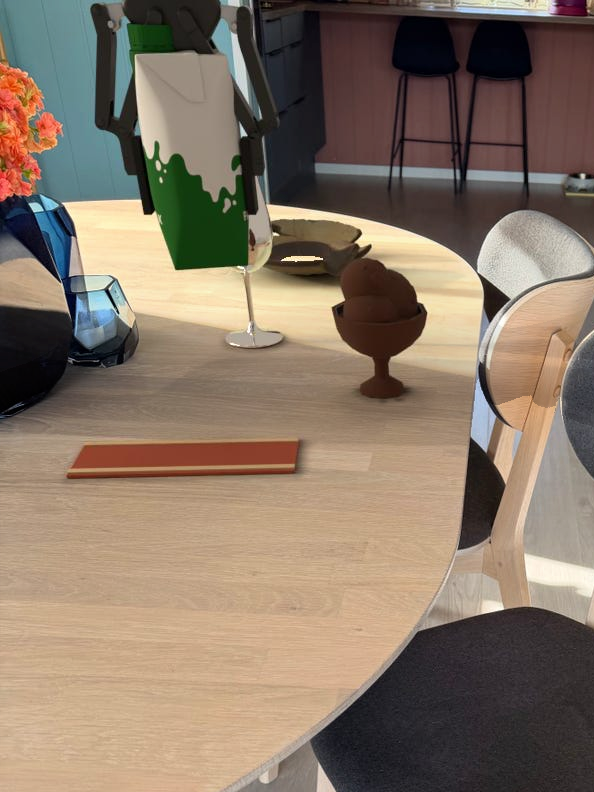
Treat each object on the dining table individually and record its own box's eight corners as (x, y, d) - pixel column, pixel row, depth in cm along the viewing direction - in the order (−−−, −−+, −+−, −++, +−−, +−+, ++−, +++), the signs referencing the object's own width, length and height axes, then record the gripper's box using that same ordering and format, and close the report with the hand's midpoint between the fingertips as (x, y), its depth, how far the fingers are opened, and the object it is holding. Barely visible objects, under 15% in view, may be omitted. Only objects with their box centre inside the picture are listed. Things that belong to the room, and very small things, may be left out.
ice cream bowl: (381, 415, 105) (375, 277, 96) (318, 388, 111) (306, 257, 102) (446, 390, 111) (446, 259, 103) (383, 367, 117) (378, 241, 109)
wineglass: (212, 340, 124) (187, 176, 112) (254, 326, 129) (235, 167, 118) (253, 353, 121) (232, 184, 109) (295, 337, 126) (280, 175, 114)
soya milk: (159, 252, 96) (119, 20, 85) (247, 246, 99) (220, 21, 87) (166, 274, 90) (124, 26, 78) (260, 267, 92) (233, 27, 80)
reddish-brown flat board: (67, 478, 91) (65, 474, 91) (87, 444, 97) (86, 440, 97) (294, 473, 93) (294, 469, 93) (299, 439, 99) (299, 435, 99)
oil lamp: (359, 247, 166) (357, 200, 161) (388, 295, 143) (386, 242, 138) (231, 252, 161) (225, 204, 157) (240, 303, 138) (233, 248, 133)
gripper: (11, -80, 74) (77, 220, 88) (289, -73, 76) (312, 220, 90) (38, -77, 80) (96, 203, 94) (295, -70, 82) (316, 204, 96)
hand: (202, 211), depth 92 cm, fingers closed on soya milk, 9 cm apart
